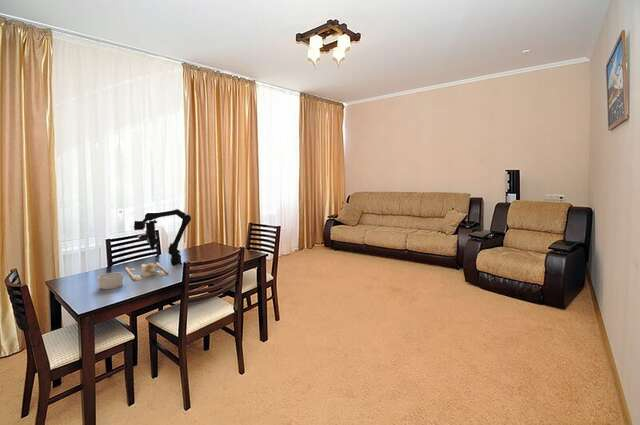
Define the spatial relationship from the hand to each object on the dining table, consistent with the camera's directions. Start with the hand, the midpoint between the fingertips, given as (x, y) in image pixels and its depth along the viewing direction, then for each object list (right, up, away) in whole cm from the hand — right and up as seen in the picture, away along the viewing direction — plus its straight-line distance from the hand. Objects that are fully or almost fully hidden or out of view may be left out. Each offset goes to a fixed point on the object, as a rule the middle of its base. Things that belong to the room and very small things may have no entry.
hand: (152, 250), depth 245 cm
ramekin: (-4, -18, -41) cm, 45 cm away
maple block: (+7, -15, -19) cm, 25 cm away
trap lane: (+3, -14, -13) cm, 19 cm away
